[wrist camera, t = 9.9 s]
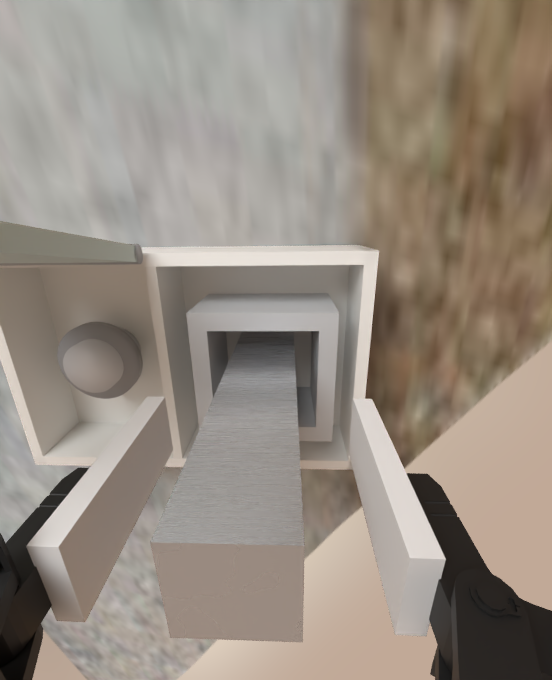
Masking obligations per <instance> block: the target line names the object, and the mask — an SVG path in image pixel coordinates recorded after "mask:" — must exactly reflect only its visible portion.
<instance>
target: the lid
mask: <svg viewBox="0 0 552 680" xmlns="http://www.w3.org/2000/svg"><path fill="white" fill-rule="evenodd" d="M142 261H143V252H142V249H141V247H140V245H139V244H124V243H118V242H113V241H107V240H102V239H96V238H91V237H85V236H80V235H74V234H68V233H63V232H57V231H52V230H46V229H41V228H35V227H30V226H24V225H19V224H13V223H7V222H2V221H0V266H18V265H128V264H141V263H142Z"/></svg>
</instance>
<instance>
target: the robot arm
mask: <svg viewBox="0 0 552 680" xmlns="http://www.w3.org/2000/svg"><path fill="white" fill-rule="evenodd" d="M172 451H173V445H172V438H171V432H170V425H169V419H168V413H167V406H166V400H165V397H147V398H146V399H145V400H144V401H143V403H142V404H141V405H140V406H139V408H138V409H137V410H136V411H135V413H134V414H133V415H132V416H131V417H130V419H129V420H128V421H127V422H126V424H125V425H124V426H123V427H122V429H121V430H120V431H119V432H118V433H117V435H116V436H115V437H114V438H113V440H112V441H111V442H110V443H109V445H108V446H107V447H106V448H105V449H104V451H103V452H102V453H101V454H100V456H99V457H98V458H97V459H96V461H95V462H94V463H93V464H92V466H91V467H90V468H77V469H76V470H75V471H73V472H72V473H70V474H69V475H68V476H66V477H65V478H63V479H62V480H61V481H60V482H59V484H58V485H57V486H56V487H55V488H54V489H53V490H52V491H51V493H50V495H49V496H47V497H46V498H45V499H44V501H43V502H42V503H41V504H40V507H39V508H36V510H35V511H34V512H33V513H32V514H31V515H30V516H29V518H28V519H27V520H26V521H25V522H24V523H23V524H22V525H21V527H20V528H19V529H18V530H17V531H16V532H15V533H14V535H13V536H12V537H11V538H10V539H9V540H8V541H7V542H6V544H5V541H4V539H3V537H2V535H1V534H0V680H32V678H33V674H34V670H35V665H36V662H37V658H38V654H39V650H40V646H41V642H42V638H43V627H42V625H41V622H42V620H43V619H44V617H45V616H46V614H47V612H48V611H49V609H50V607H51V608H52V610H53V613H54V615H55V618H56V620H57V621H72V622H86V620H87V618H88V616H89V614H90V612H91V610H92V608H93V606H94V604H95V602H96V600H97V598H98V596H99V594H100V592H101V590H102V588H103V586H104V584H105V582H106V581H107V579H108V577H109V575H110V573H111V571H112V569H113V567H114V565H115V563H116V561H117V559H118V557H119V555H120V553H121V551H122V549H123V547H124V545H125V543H126V541H127V539H128V537H129V535H130V533H131V532H132V530H133V528H134V526H135V524H136V522H137V520H138V518H139V516H140V514H141V512H142V510H143V508H144V506H145V504H146V502H147V500H148V498H149V496H150V494H151V492H152V490H153V488H154V486H155V484H156V483H157V481H158V479H159V477H160V475H161V473H162V471H163V469H164V467H165V465H166V463H167V461H168V459H169V457H170V455H171V453H172ZM349 456H350V460H351V464H352V467H353V471H354V475H355V479H356V483H357V487H358V491H359V495H360V499H361V503H362V507H363V510H364V514H365V519H366V523H367V526H368V530H369V534H370V538H371V542H372V546H373V550H374V554H375V558H376V562H377V566H378V570H379V574H380V578H381V581H382V586H383V590H384V594H385V597H386V601H387V605H388V609H389V613H390V617H391V621H392V625H393V629H394V633H395V635H408V636H427V632H428V628H429V624H430V623H431V626H432V629H433V632H434V635H435V638H436V641H437V644H438V646H437V650H436V653H435V656H434V660H433V664H432V669H431V673H430V674H431V675H433V676H435V680H552V611H550V610H547V609H545V608H542V607H539V606H536V605H533V604H531V603H529V602H527V601H524V600H522V599H521V598H519V597H518V596H517V595H516V593H515V592H514V591H513V589H512V588H511V587H509V586H508V585H507V584H506V583H505V582H503V581H502V580H501V579H500V578H498V577H496V576H494V575H493V574H492V573H491V572H490V571H489V569H488V568H487V566H486V564H485V563H484V561H483V559H482V558H481V556H480V554H479V552H478V550H477V549H476V547H475V545H474V543H473V542H472V540H471V538H470V536H469V535H468V533H467V531H466V529H465V528H464V526H463V524H462V522H461V521H460V519H459V517H457V513H456V512H455V510H454V508H453V506H452V505H451V504H450V501H449V499H448V498H447V496H446V494H445V493H444V491H443V489H442V487H441V486H440V485H439V484H438V483H437V482H435V481H434V480H433V479H432V478H431V477H430V476H429V475H428V474H410V473H406V472H405V470H404V467H403V465H402V463H401V461H400V459H399V457H398V454H397V452H396V450H395V448H394V446H393V444H392V441H391V439H390V437H389V435H388V433H387V431H386V428H385V426H384V424H383V422H382V420H381V418H380V415H379V413H378V411H377V409H376V407H375V404H374V402H373V400H372V399H353V407H352V420H351V432H350V444H349Z"/></svg>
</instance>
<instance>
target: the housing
mask: <svg viewBox="0 0 552 680" xmlns="http://www.w3.org/2000/svg"><path fill="white" fill-rule="evenodd" d="M141 249H142V252H143V261H142V263H141V264H128V265H18V266H0V360H1V363H2V366H3V369H4V372H5V375H6V378H7V380H8V383H9V386H10V389H11V392H12V395H13V398H14V401H15V404H16V407H17V410H18V413H19V416H20V419H21V422H22V425H23V428H24V431H25V434H26V437H27V440H28V443H29V446H30V449H31V452H32V455H33V458H34V461H35V464H36V465H84V466H92V464H93V463H94V462H95V461H96V459H97V458H98V457H99V456H100V454H101V453H102V452H103V451H104V449H105V448H106V447H107V446H108V445H109V443H110V442H111V441H112V440H113V438H114V437H115V436H116V435H117V433H118V432H119V431H120V430H121V429H122V427H123V426H124V425H125V424H126V422H127V421H128V420H129V419H130V417H131V416H132V415H133V414H134V413H135V411H136V410H137V409H138V408H139V406H140V405H141V404H142V403H143V401H144V400H145V399H146V398H147V397H165V400H166V406H167V413H168V419H169V425H170V432H171V438H172V445H173V451H172V453H171V455H170V457H169V459H168V461H167V463H166V465H165V467H183V466H184V464H185V462H186V459H187V457H188V455H189V452H190V450H191V448H192V445H193V443H194V441H195V439H196V436H197V434H198V432H199V429H200V427H201V425H202V422H203V420H204V418H205V416H206V413H207V411H208V409H209V406H210V404H211V402H212V399H213V397H214V395H215V393H216V390H217V388H218V386H219V383H220V381H221V379H222V376H223V374H224V372H225V370H226V367H227V365H228V363H229V360H230V358H231V356H232V353H233V351H234V349H235V347H236V344H237V342H238V340H239V337H240V335H241V333H242V331H294V349H295V369H296V389H297V409H298V428H299V448H300V468H301V469H335V470H353V467H352V464H351V460H350V456H349V444H350V432H351V420H352V407H353V399H365V394H366V383H367V373H368V362H369V352H370V341H371V331H372V320H373V309H374V299H375V288H376V278H377V267H378V256H379V250H375V249H371V248H368V247H364V246H361V245H306V246H217V247H141Z"/></svg>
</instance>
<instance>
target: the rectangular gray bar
mask: <svg viewBox="0 0 552 680" xmlns="http://www.w3.org/2000/svg"><path fill="white" fill-rule="evenodd" d="M150 543H151V548H152V552H153V557H154V562H155V567H156V571H157V576H158V581H159V586H160V591H161V595H162V600H163V605H164V610H165V614H166V619H167V624H168V629H169V633H170V638H195V639H224V640H253V641H254V640H255V641H282V642H303V595H304V527H303V508H302V488H301V468H300V448H299V428H298V409H297V389H296V369H295V349H294V331H242V333H241V335H240V337H239V340H238V342H237V344H236V347H235V349H234V351H233V353H232V356H231V358H230V360H229V363H228V365H227V367H226V370H225V372H224V374H223V376H222V379H221V381H220V383H219V386H218V388H217V390H216V393H215V395H214V397H213V399H212V402H211V404H210V406H209V409H208V411H207V413H206V416H205V418H204V420H203V422H202V425H201V427H200V429H199V432H198V434H197V436H196V439H195V441H194V443H193V445H192V448H191V450H190V452H189V455H188V457H187V459H186V462H185V464H184V466H183V468H182V471H181V473H180V475H179V478H178V480H177V482H176V485H175V487H174V489H173V491H172V494H171V496H170V498H169V501H168V503H167V505H166V508H165V510H164V512H163V514H162V517H161V519H160V521H159V524H158V526H157V528H156V531H155V533H154V535H153V537H152V540H151V542H150Z"/></svg>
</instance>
